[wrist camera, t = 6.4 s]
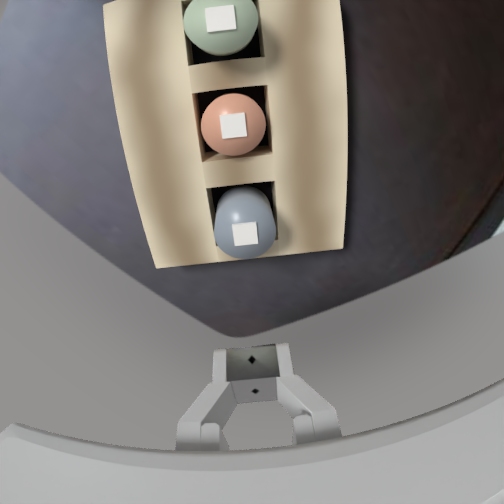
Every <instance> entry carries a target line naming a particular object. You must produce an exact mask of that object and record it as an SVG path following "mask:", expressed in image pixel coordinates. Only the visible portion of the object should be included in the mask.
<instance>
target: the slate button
mask: <svg viewBox="0 0 504 504" xmlns="http://www.w3.org/2000/svg"><path fill="white" fill-rule="evenodd" d="M214 237H215V241H216V243H217V245H218V247H219V248H220V249H221V250H222V251H223V252H224V253H226V254H227V255H229V256H231V257H234V258H238V259H251V258H255V257H258V256H260V255H262V254H263V253H265V252H266V251H267V250H268V249H269V248H270V247H271V246H272V244H273V242H274V240H275V237H276V226H275V222H274V218H273V214H272V210H271V207H270V203H269V200H268V198H267V197H266V195H265V194H264V193H263V192H262V191H260V190H259V189H257V188H255V187H252V186H245V185H243V186H236V187H233V188H231V189H229V190H228V191H226V192H225V193H224V194H223V195H222V196H221V198H220V199H219V201H218V204H217V210H216V218H215V227H214Z"/></svg>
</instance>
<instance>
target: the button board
mask: <svg viewBox="0 0 504 504" xmlns="http://www.w3.org/2000/svg"><path fill="white" fill-rule="evenodd" d="M192 1H193V0H116V1H113V2H110V3H107V4H104V5H103V12H104V25H105V35H106V45H107V53H108V61H109V69H110V76H111V82H112V89H113V95H114V101H115V107H116V112H117V118H118V123H119V128H120V133H121V138H122V143H123V147H124V152H125V156H126V161H127V165H128V169H129V174H130V178H131V182H132V186H133V190H134V194H135V197H136V201H137V205H138V209H139V212H140V216H141V220H142V223H143V227H144V230H145V233H146V237H147V240H148V244H149V247H150V250H151V253H152V256H153V260H154V263H155V266H156V268H164V267H174V266H184V265H194V264H203V263H213V262H223V261H232V260H242V259H238V258H234V257H231V256H229V255H227V254H226V253H224V252H223V251H222V250H221V249H220V248H219V247H218V245H217V243H216V241H215V237H214V227H215V218H216V215H215V209H214V203H213V196H212V190H211V188H213V187H222V186H230V185H239V184H248V183H258V182H268V181H271V184H272V198H273V213H274V222H275V226H276V237H275V240H274V242H273V244H272V246H271V247H270V248H269V249H268V250H267V251H266V252H265V253H263V254H262V255H260V256H258V257H255V258H260V257H270V256H279V255H288V254H298V253H307V252H316V251H325V250H334V249H343V241H344V227H345V212H346V191H347V157H348V117H347V84H346V65H345V50H344V38H343V27H342V17H341V9H340V1H339V0H252V2H255V6H256V9H257V11H258V25H257V26H258V35H259V45H260V55H261V57H258V58H245V59H235V60H226V61H218V62H210V63H204V64H197V65H194V62H193V54H192V45H191V40H190V39H189V37H188V36H187V34H186V32H185V30H184V25H183V19H184V14H185V11H186V9H187V7H188V5H189V4H190V3H191V2H192ZM260 85H263V86H264V97H265V108H266V120H267V132H268V144H269V145H266V146H256V147H255V148H254V149H253V150H251V151H249V152H247V153H245V154H242V155H237V156H230V155H224V154H221V153H219V152H217V151H211V152H206V151H205V144H204V137H203V135H202V131H201V116H200V109H199V101H198V94H197V93H199V92H206V91H213V90H220V89H229V88H238V87H248V86H260Z"/></svg>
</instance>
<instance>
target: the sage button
mask: <svg viewBox="0 0 504 504" xmlns="http://www.w3.org/2000/svg"><path fill="white" fill-rule="evenodd" d="M183 25H184V30H185V32H186V34H187V36H188V37H189V39H190V40H191V41H192V42H193V43H194V44H195V45H197V46H198V47H199V48H200V49H202V50H203V51H204V52H206V53H208V54H211V55H215V56H228V55H232V54H235V53H238V52H239V51H241V50H243V49H244V48H245V47H246V46H247V45H248V44H249V43H250V41H251V40H252V38H253V35H254V33H255V31H256V28H257V25H258V11H257V9H256V6H255V5H254V3H253V2H252V0H193V1H192V2H191V3H190V4H189V5H188V7H187V9H186V11H185V14H184V19H183Z"/></svg>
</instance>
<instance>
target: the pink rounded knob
mask: <svg viewBox="0 0 504 504" xmlns="http://www.w3.org/2000/svg"><path fill="white" fill-rule="evenodd" d="M265 128H266V121H265V116H264V114H263V111H262V110H261V108H260V107H259V106H258V104H257V103H256V102H255V101H254V100H253V99H252V98H251V97H249V96H247V95H245V94H243V93H238V92H230V93H225V94H223V95H220V96H219V97H217V98H216V99H215V100H214V101H213V102H212V103H211V104H210V105H209V106H208V107H207V108H206V110H205V112H204V114H203V116H202V120H201V131H202V135H203V137H204V139H205V141H206V142H207V144H208V145H209V146H210V147H211V148H212V149H213V150H215V151H217V152H219V153H221V154H224V155H230V156H237V155H242V154H245V153H247V152H249V151H251V150H253V149H254V148H255V147H256V146H257V145H258V144H259V143H260V141H261V140H262V138H263V136H264V133H265Z"/></svg>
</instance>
